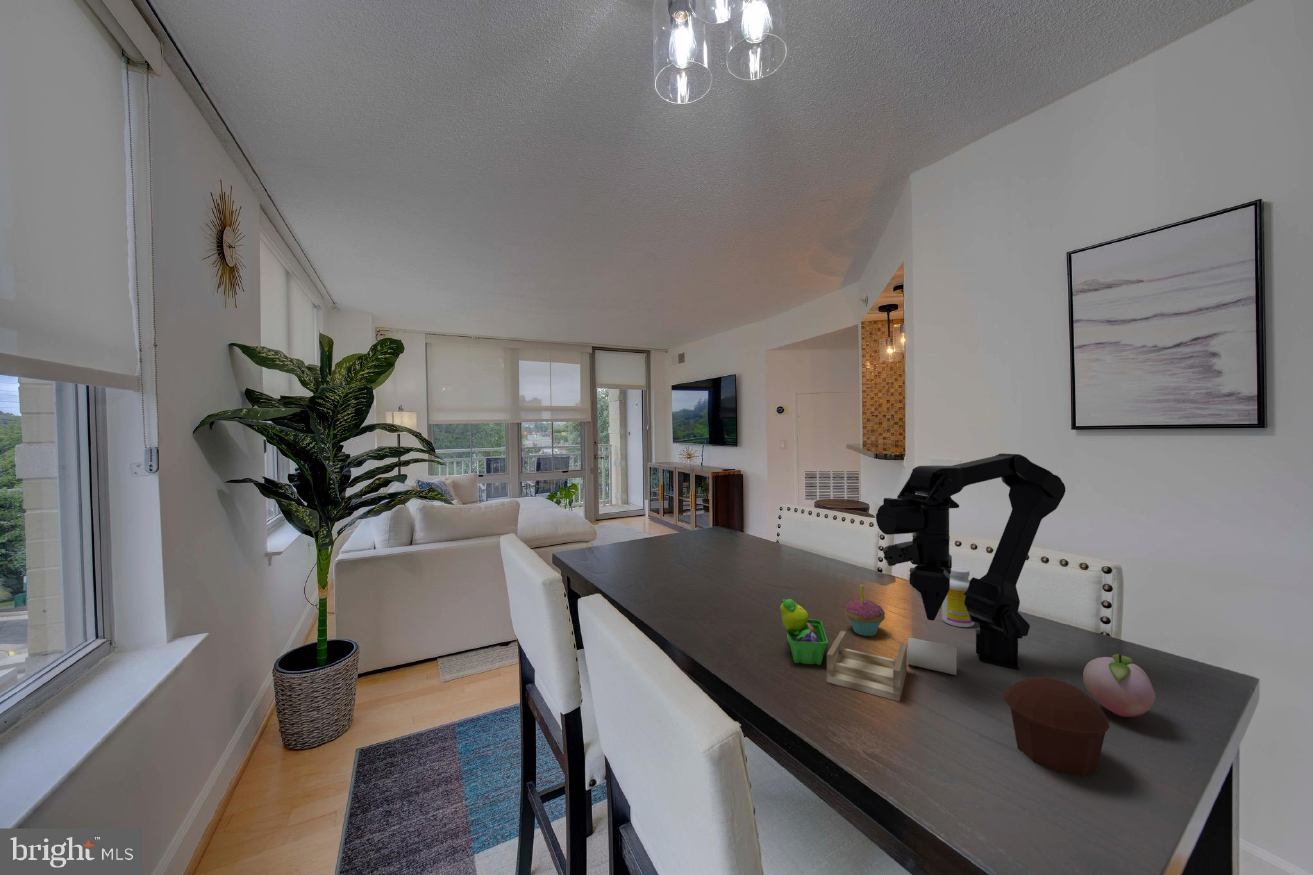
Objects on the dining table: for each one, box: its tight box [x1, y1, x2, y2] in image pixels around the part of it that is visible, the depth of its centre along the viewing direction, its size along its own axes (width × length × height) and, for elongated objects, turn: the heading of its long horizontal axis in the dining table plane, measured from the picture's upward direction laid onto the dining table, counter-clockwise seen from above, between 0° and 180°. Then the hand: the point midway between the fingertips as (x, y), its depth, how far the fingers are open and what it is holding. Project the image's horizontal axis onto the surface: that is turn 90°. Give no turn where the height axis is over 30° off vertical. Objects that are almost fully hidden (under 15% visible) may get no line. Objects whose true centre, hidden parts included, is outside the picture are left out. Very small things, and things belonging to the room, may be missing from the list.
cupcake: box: [844, 581, 886, 637], centre depth 110 cm, size 9×8×12 cm
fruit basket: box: [779, 598, 829, 666], centre depth 99 cm, size 11×9×11 cm
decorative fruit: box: [1082, 653, 1156, 718], centre depth 77 cm, size 9×8×10 cm
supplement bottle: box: [941, 565, 975, 628], centre depth 114 cm, size 7×7×13 cm
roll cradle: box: [826, 630, 908, 702], centre depth 90 cm, size 12×12×5 cm
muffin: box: [1003, 676, 1110, 777], centre depth 68 cm, size 12×11×10 cm
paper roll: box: [907, 637, 958, 676], centre depth 93 cm, size 8×5×5 cm, turn 57°
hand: (932, 611), depth 93 cm, fingers open, 9 cm apart
